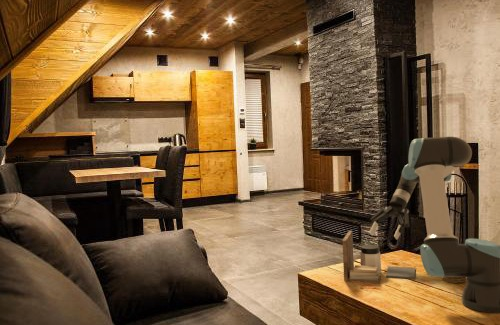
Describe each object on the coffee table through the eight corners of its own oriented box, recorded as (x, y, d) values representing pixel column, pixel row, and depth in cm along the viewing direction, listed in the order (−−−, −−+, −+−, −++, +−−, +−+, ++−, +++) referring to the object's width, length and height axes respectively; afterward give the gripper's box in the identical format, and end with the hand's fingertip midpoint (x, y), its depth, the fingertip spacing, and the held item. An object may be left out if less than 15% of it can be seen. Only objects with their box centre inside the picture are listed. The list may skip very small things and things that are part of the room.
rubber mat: (414, 279, 186) (414, 277, 186) (385, 277, 190) (385, 275, 190) (415, 269, 199) (415, 267, 199) (388, 267, 203) (387, 266, 203)
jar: (368, 268, 204) (367, 243, 204) (383, 271, 198) (382, 245, 198) (358, 272, 198) (356, 247, 197) (373, 276, 192) (372, 249, 192)
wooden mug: (461, 288, 172) (459, 244, 171) (438, 278, 185) (436, 237, 184) (479, 285, 174) (478, 241, 173) (455, 275, 187) (454, 235, 186)
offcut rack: (379, 283, 183) (377, 241, 182) (344, 280, 188) (342, 240, 187) (383, 269, 201) (381, 231, 200) (350, 267, 206) (349, 230, 206)
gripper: (426, 207, 204) (410, 244, 196) (381, 203, 224) (365, 236, 216) (420, 197, 201) (403, 235, 192) (374, 194, 221) (357, 228, 212)
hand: (383, 235), depth 204 cm, fingers open, 13 cm apart
